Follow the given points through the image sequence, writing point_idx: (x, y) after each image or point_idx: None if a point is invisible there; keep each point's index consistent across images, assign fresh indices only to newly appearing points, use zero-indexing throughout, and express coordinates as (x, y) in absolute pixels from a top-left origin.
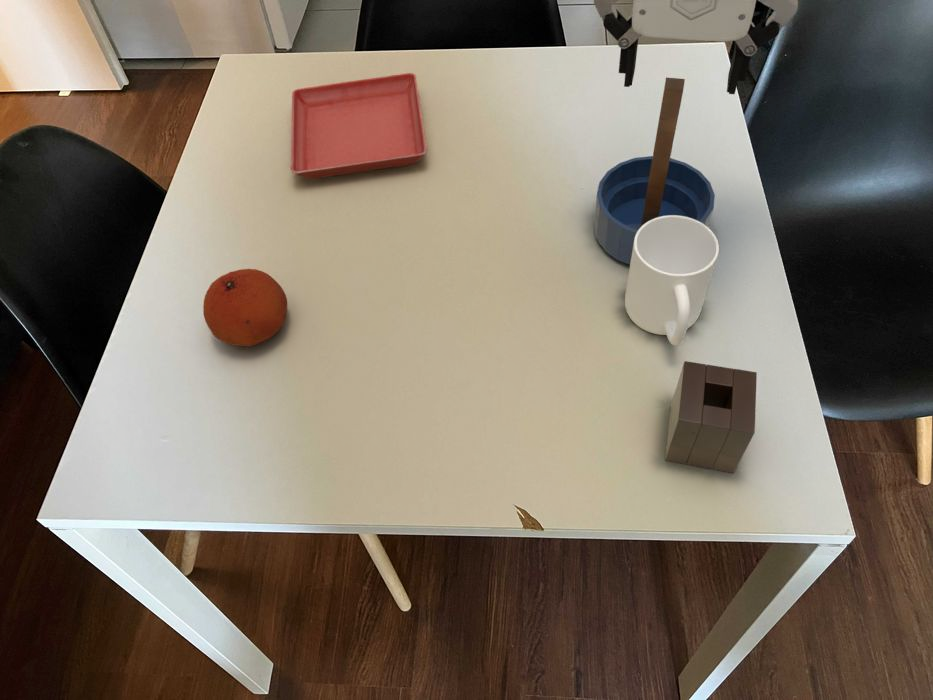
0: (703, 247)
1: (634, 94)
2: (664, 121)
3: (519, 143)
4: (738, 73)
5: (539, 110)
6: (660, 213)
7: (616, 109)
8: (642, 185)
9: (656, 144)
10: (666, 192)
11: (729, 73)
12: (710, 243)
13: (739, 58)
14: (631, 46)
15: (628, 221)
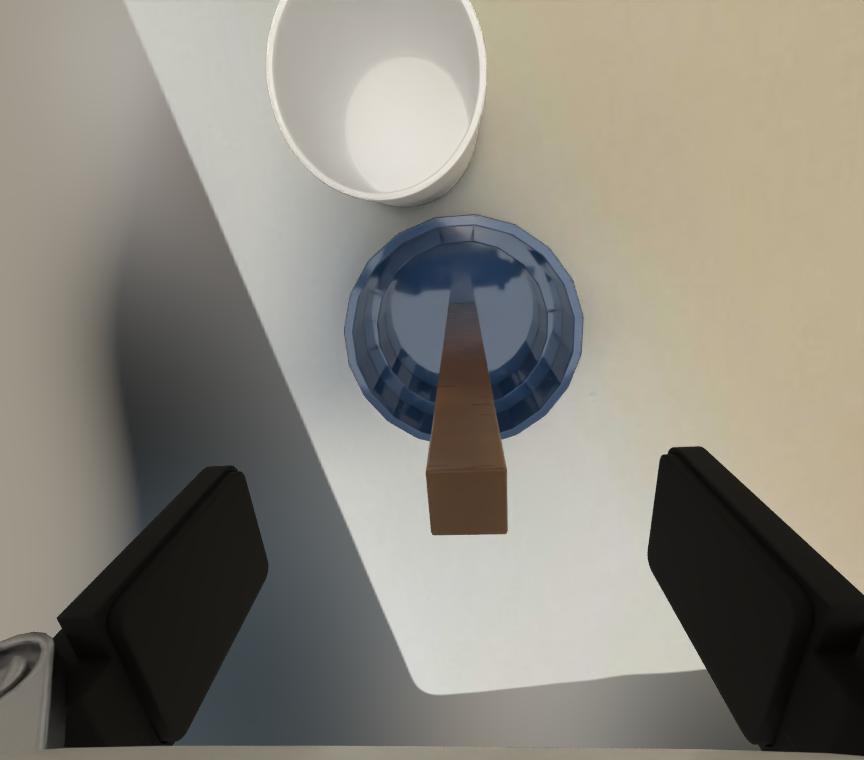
0: (328, 168)
1: (530, 607)
2: (475, 401)
3: None
4: (145, 534)
5: None
6: None
7: (554, 575)
8: None
9: (483, 369)
10: None
11: (247, 566)
12: (304, 147)
13: (85, 610)
14: (834, 648)
15: (499, 327)
